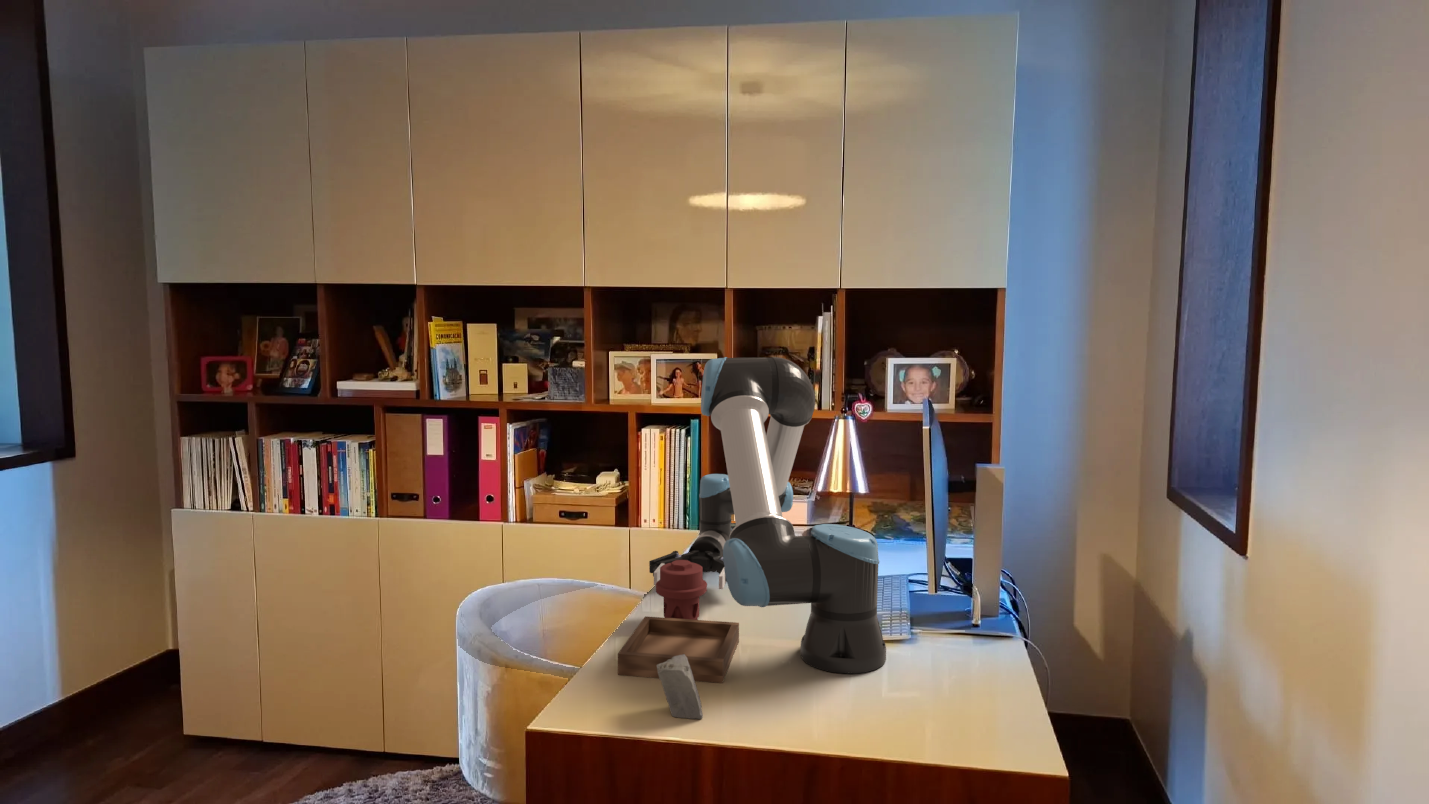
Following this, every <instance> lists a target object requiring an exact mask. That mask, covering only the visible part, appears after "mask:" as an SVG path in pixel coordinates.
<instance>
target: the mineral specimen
mask: <svg viewBox="0 0 1429 804" xmlns="http://www.w3.org/2000/svg"><path fill="white" fill-rule="evenodd" d="M657 670H658V675H659V678H658V679H659V681H660V682H661V686H662V688H663V691H664V695H665V697H666V701H667V703H668V704H667V705H668V708H669V711H670V714H671V716H672V717H673V718H678V719H679V718H681V719H691V720H701V719H703V717H704V716H703V710H702V709H703V706H702V702H701V697H700V695H699V690H698V688H697V684H696V681H695V680H694V677H693V674H692V670H691V668H690V665H689V662H688V659H687V657H686V656H685V654H683V655H678V656H674V657H672V658H671V659H668V660H667V661H666V662H663V663H660V664H658V665H657Z"/></svg>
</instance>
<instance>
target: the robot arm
mask: <svg viewBox="0 0 1429 804" xmlns="http://www.w3.org/2000/svg"><path fill="white" fill-rule="evenodd" d="M701 383H702V384H701V396H700V412H701V414H702V415H703V416H706V417H710V421H711V423H712V425H713V426H714V427H715V428H716V429H718V430H719V431H720V434H721V440H722V446H723V447H722V448H723V452H724V458H725V463H726V472H727V474H725V473H710V474H706V475H703V476H702V477H701V478H700V480H699V481H700V483H699V494H698V496H699V535H698V536H697V537H696V539H695V540H694V542H693V543H692V544H691V545H690V547H689V549H688V552H686V553H683V554H680V553H679V551H678V550H674V551H672V552H670V553H668V554H666V555H662V556H660V557H656V558H654V559H651V560H649V562H648V564H649V565H648V566H649V573H650V574H652V576H653V577H652V578H653V586H656V583H657V582H658V581H659V580H660V567H661V566H663V565H665V564H668V563H672V562H673V561H675V560H688V561H690V562H692V563H696V564H699V565H700V566H702V568H703V573H710V572H712V573H715V572H716V573H718V574H719V576H718V589H719V590H723V589H724V588H725V585H726V584H727V586H728V589H729V592H730V595H731V596H732V599H733V600H734V601H735V602H737V604H739V605H740V606H742V607H759V608H765V607H771V606H773V607H774V606H786V605H799V604H800V605H801V604H802V605H803V604H810V614H809V616H808V617H809V618H808V620H807V624H806V627H805V631H804V635H802V637H801V640H800V654H799V655H800V657H801V659H802V660H803V662H805V663H806V664H807V665H809V666H811V667H814V668H816V669H818V670H822V671H826V672H831V673H836V674H837V673H839V674H860V673H867V672H872V671H875V670H878V669H879V668H881V667H882V666H884V664H885V663H886V661H887V645H886V642H885V640H884V637H883V632H882V628H881V626H880V622H879V618H878V594H879V593H878V591H879V589H878V588H879V587H878V586H879V564H880V560H879V546H878V545H879V544H878V542H877V539H876V538H875V536H873V535H872V534H871V533H869V532H867V531H864V530H863V529H860V528H856V527H854V526H847V525H842V524H836V523H835V524H834V523H833V524H832V523H821V524H816V525H813V526H812V529H811V531H810V535H796V534H795V533H796V532H795V530H794V525H793V523H792V522H791V521H789V520H788V519H787V518H784V516H783V513H788V512H789V511H790V510H792V507H793V504H794V502H793V500H794V491H793V486H792V484H791V482H790V481H789V479H790V476H791V472H792V469H793V466H794V463H795V459H796V455H797V452H798V449H799V445H800V443H801V439H802V435H803V431H804V428H805V426H806V425H808V424H809V423H810V421H811V420H812V418H813V415H814V411H815V406H816V395H815V390H814V386H813V384H812V382H811V379H809V376H808V375H807V373H806V372H805V371H804V369H802V368H801V367H800V366H799V365H798V364H796V363H795V362H793V361H792V360H789V359H787V358H783V357H777V356H776V357H775V356H774V357H773V356H772V357H727V356H725V357H719V358H710V359H709V360H707V362H706V363H705V365H704V368H703V375H702V382H701ZM769 416H770V418H769ZM768 418H769V423H768V426H767V431H766V428H765V422H766V421H767V419H768ZM732 516H734V521H735V522H736V526H735V527H734V528H733V530H732V528H731V521H732Z"/></svg>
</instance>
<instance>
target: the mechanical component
mask: <svg viewBox="0 0 1429 804" xmlns="http://www.w3.org/2000/svg"><path fill="white" fill-rule="evenodd" d="M703 573H704V572H703V568H702V566H700V565H699V564H696V563H692V562H690V561H688V560H675V561H673V562H672V563H668V564H665V565H663V566H661V567H660V580H659V581H658V582H657V583H656V585H655V592H656V593H657V594H658V596H660V597H662V598H663V618H676V619H691V620H699V617H700V597H701V596H703V595H705V594H706V592H708V583H707V581H706V580H705V579H704V578H703V576H704V574H703Z"/></svg>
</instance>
